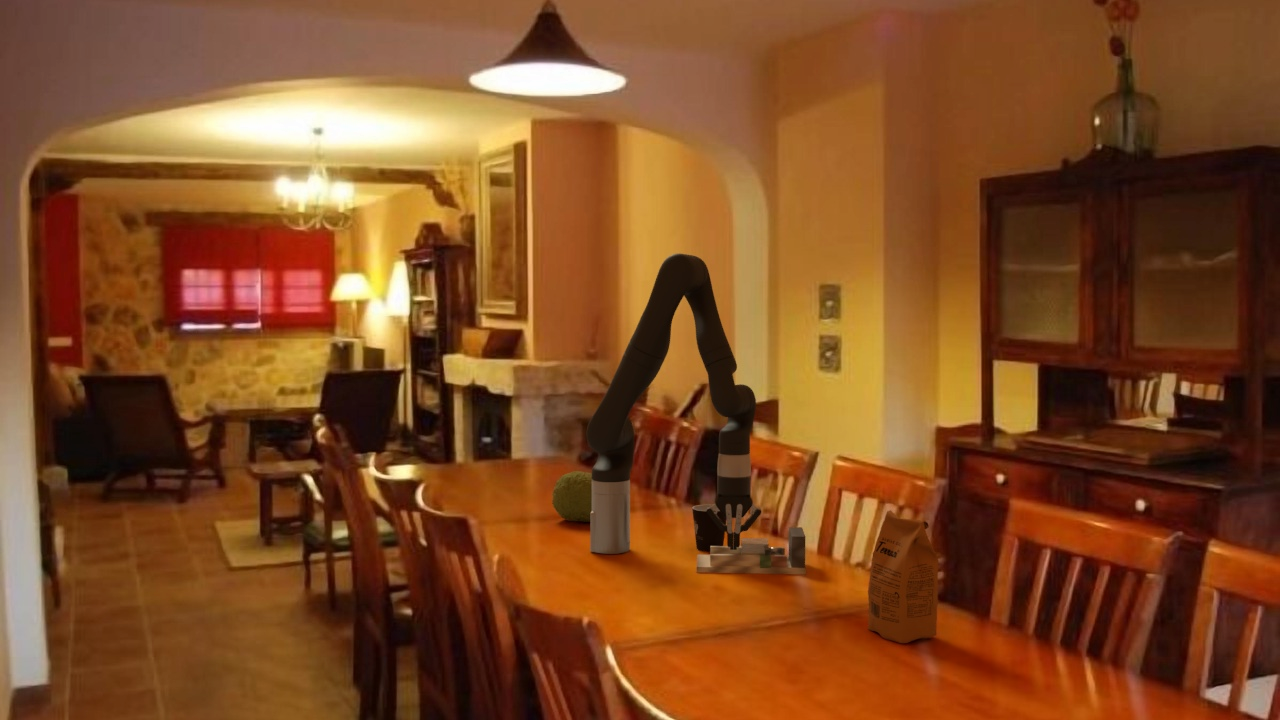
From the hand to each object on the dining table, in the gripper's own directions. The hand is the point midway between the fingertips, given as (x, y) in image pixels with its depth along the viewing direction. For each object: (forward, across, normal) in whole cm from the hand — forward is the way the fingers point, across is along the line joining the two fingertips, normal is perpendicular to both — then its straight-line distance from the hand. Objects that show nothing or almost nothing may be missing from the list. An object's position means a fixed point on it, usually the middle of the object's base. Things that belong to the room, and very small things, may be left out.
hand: (733, 549), depth 259 cm
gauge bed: (+4, +4, 0) cm, 6 cm away
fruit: (+4, -40, +48) cm, 63 cm away
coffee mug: (+4, -5, +19) cm, 20 cm away
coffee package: (+4, +30, -49) cm, 57 cm away
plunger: (+3, +6, -1) cm, 7 cm away
